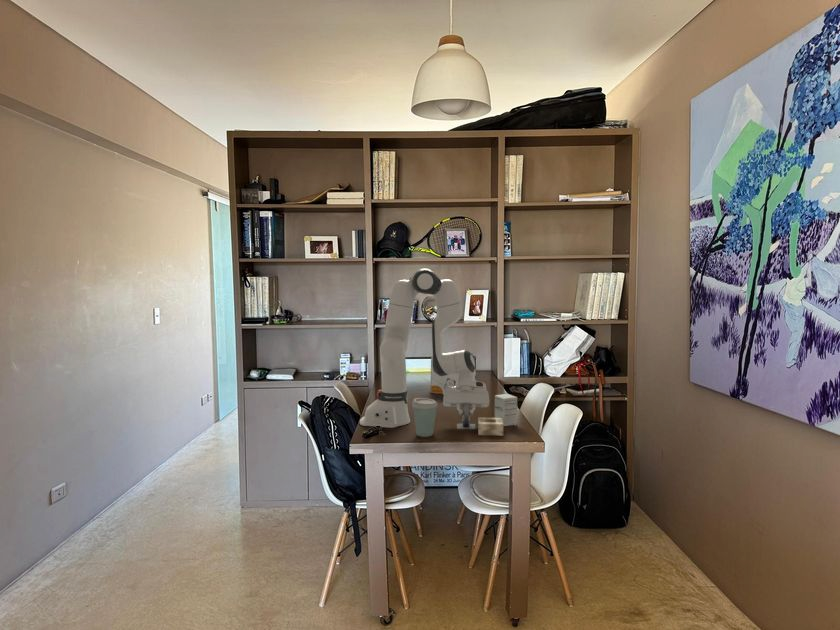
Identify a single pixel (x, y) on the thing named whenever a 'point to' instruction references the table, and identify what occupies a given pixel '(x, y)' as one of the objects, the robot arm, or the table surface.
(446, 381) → the hard drive box
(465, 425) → the steel pin
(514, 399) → the supplement box
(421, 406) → the disposable coffee cup
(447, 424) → the table surface
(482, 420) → the birch block
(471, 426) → the rubber mat
